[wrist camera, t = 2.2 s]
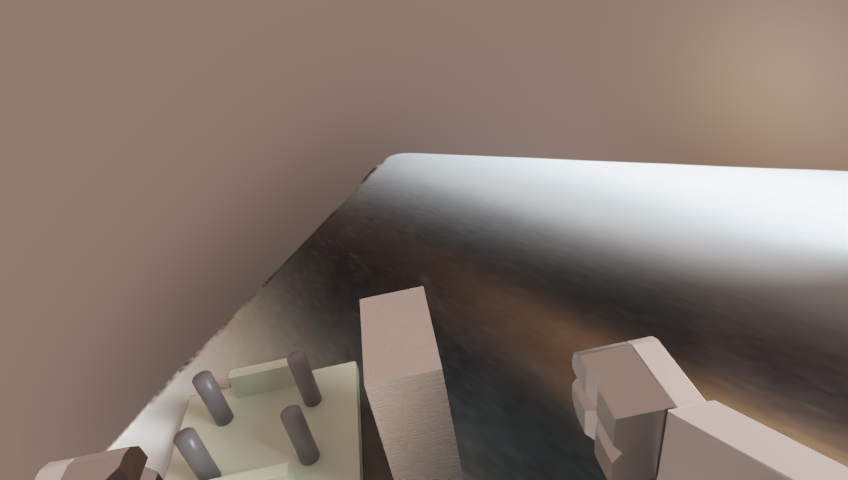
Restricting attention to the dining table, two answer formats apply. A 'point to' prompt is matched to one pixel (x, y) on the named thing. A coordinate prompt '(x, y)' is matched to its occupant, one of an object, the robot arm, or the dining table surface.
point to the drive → (408, 387)
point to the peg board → (272, 424)
